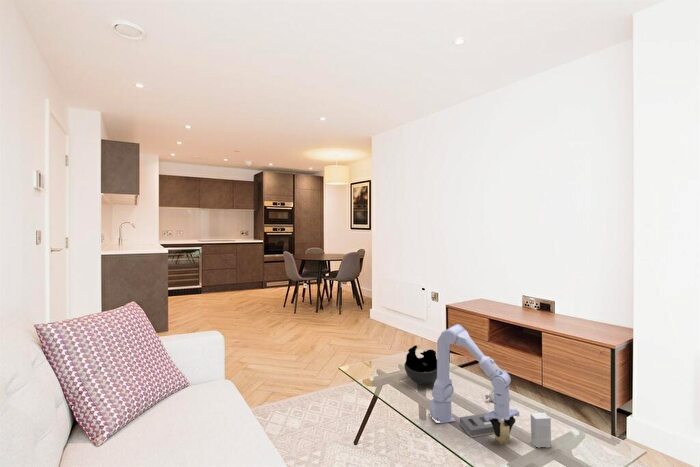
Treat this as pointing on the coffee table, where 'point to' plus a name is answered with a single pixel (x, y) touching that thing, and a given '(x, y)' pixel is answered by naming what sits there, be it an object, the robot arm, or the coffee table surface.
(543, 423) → the skincare box
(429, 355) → the coal bowl
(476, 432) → the bit holder
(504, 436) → the square bit
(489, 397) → the soldier figure
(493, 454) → the coffee table surface
